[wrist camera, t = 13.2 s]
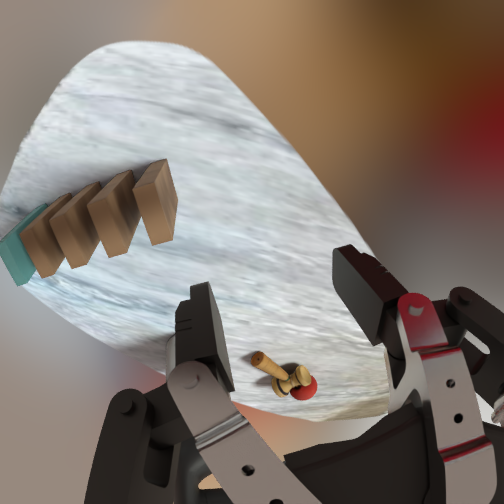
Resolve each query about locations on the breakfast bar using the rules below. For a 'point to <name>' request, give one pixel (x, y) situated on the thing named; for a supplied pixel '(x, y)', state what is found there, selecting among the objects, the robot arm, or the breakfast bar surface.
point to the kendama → (287, 378)
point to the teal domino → (19, 250)
